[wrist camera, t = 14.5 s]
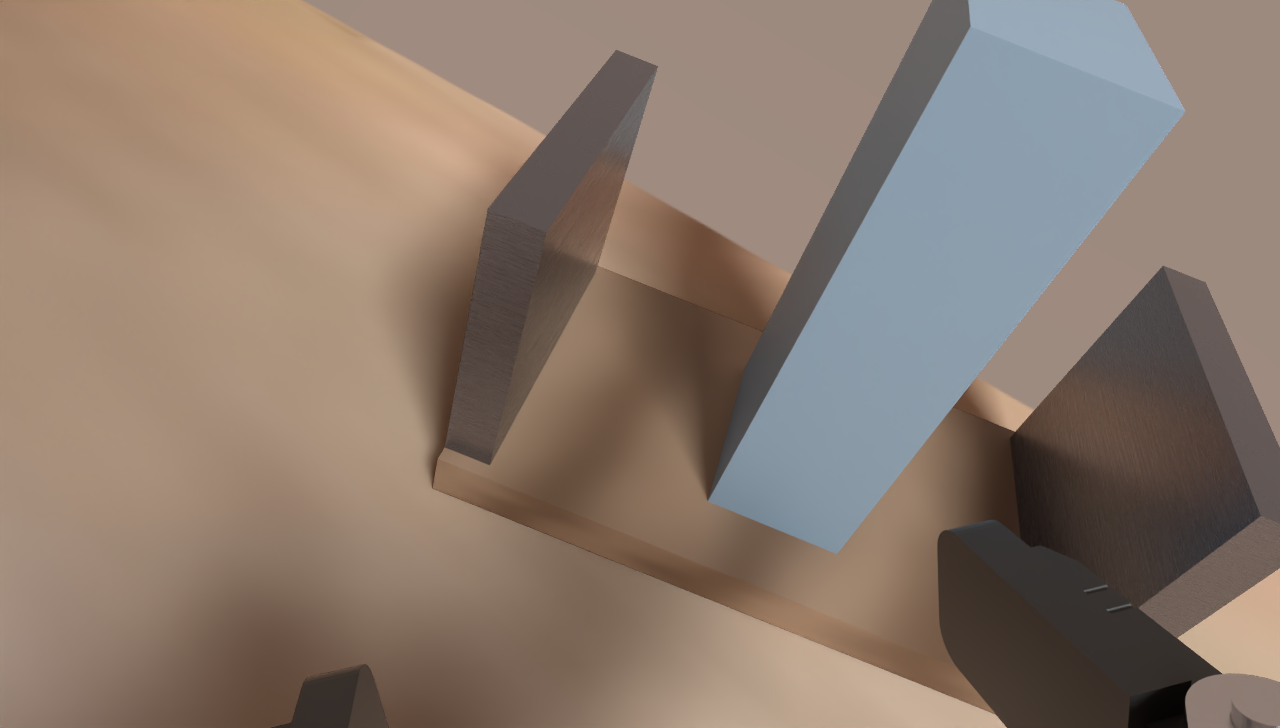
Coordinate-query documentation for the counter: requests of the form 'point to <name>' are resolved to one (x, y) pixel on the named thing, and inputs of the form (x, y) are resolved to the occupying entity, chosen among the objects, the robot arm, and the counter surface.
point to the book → (937, 248)
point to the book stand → (684, 473)
